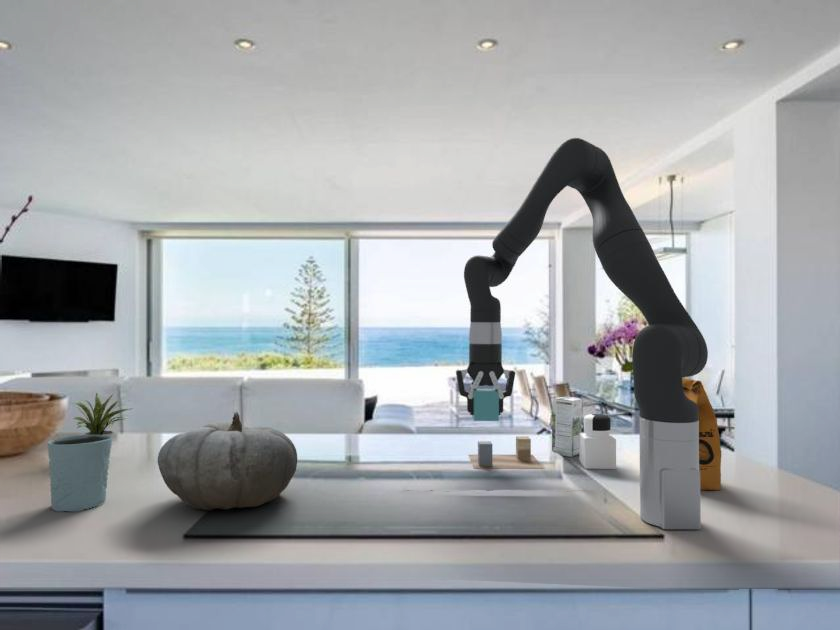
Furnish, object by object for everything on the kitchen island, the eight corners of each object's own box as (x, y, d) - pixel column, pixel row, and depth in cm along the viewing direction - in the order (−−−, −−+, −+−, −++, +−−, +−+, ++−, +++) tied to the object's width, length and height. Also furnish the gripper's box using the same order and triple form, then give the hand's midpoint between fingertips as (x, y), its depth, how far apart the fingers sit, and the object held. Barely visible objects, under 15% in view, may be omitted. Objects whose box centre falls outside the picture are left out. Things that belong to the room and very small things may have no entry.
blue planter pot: (37, 515, 97) (38, 445, 97) (58, 498, 107) (59, 435, 107) (102, 510, 100) (103, 442, 100) (117, 494, 110) (117, 432, 110)
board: (545, 473, 126) (545, 446, 126) (473, 473, 126) (473, 446, 126) (532, 458, 140) (532, 434, 140) (468, 458, 140) (468, 434, 140)
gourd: (145, 517, 88) (161, 406, 92) (155, 500, 111) (167, 411, 114) (305, 515, 97) (312, 414, 101) (283, 499, 120) (290, 417, 123)
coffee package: (677, 491, 112) (676, 381, 113) (657, 474, 125) (656, 375, 125) (729, 492, 111) (728, 381, 112) (703, 476, 124) (702, 376, 124)
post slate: (492, 465, 128) (492, 444, 128) (479, 465, 128) (479, 444, 128) (490, 462, 131) (490, 441, 131) (477, 462, 131) (477, 441, 131)
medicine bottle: (609, 462, 136) (608, 412, 136) (616, 469, 129) (616, 417, 129) (579, 461, 137) (578, 412, 137) (584, 469, 130) (584, 417, 130)
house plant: (100, 467, 130) (101, 397, 131) (47, 465, 132) (48, 396, 133) (140, 454, 144) (141, 390, 145) (92, 452, 146) (93, 389, 147)
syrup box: (561, 450, 149) (560, 396, 149) (582, 454, 145) (582, 397, 146) (551, 454, 145) (551, 398, 145) (573, 457, 141) (572, 400, 141)
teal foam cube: (498, 420, 127) (498, 391, 128) (474, 420, 127) (474, 391, 128) (495, 416, 133) (495, 388, 133) (471, 416, 133) (471, 388, 133)
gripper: (455, 342, 127) (455, 417, 126) (519, 342, 127) (518, 417, 126) (453, 341, 134) (453, 412, 134) (513, 341, 134) (513, 412, 134)
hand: (485, 414), depth 130 cm, fingers closed on teal foam cube, 5 cm apart
